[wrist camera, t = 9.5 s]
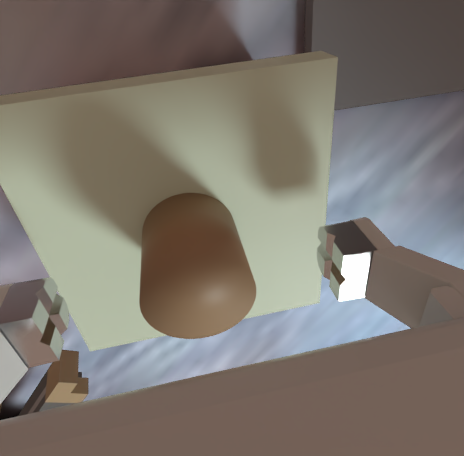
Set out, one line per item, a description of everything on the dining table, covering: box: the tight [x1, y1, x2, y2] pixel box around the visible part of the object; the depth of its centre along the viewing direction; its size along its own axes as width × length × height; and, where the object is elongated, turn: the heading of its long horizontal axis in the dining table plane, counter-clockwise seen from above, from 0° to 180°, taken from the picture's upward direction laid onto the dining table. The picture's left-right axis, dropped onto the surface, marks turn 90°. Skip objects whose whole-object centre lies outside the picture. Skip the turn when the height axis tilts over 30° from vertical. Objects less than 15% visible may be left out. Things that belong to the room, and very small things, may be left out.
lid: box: [0, 51, 338, 351], centre depth 11 cm, size 10×10×4 cm
